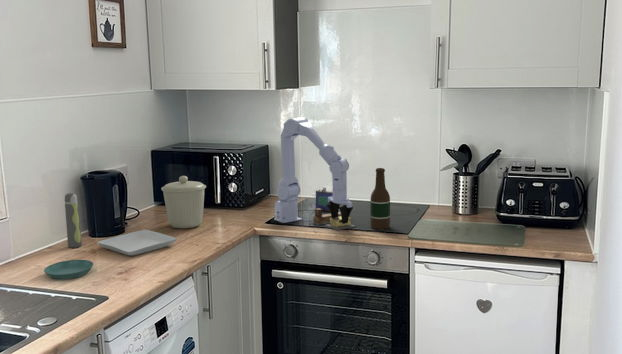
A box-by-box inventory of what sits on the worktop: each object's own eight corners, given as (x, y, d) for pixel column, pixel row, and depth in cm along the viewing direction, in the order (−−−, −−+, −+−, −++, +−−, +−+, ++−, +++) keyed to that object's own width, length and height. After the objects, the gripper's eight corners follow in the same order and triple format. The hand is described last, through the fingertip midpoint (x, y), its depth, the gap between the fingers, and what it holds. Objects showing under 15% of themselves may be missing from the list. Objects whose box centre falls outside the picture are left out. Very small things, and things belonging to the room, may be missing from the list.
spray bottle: (85, 245, 226) (80, 192, 223) (74, 248, 222) (70, 195, 219) (75, 244, 229) (70, 192, 225) (65, 247, 224) (60, 194, 221)
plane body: (317, 225, 250) (317, 210, 249) (312, 223, 253) (312, 208, 252) (350, 219, 258) (350, 205, 257) (345, 217, 261) (344, 203, 260)
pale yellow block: (336, 227, 243) (336, 219, 242) (329, 225, 247) (329, 217, 247) (350, 225, 247) (350, 216, 246) (343, 222, 251) (343, 214, 250)
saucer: (49, 269, 200) (48, 261, 199) (96, 265, 203) (95, 257, 203) (40, 284, 186) (39, 276, 185) (91, 279, 189) (90, 271, 189)
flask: (335, 210, 275) (334, 187, 273) (332, 212, 273) (331, 188, 271) (317, 208, 280) (316, 186, 278) (314, 210, 277) (313, 187, 275)
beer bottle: (389, 225, 247) (389, 166, 243) (390, 229, 240) (390, 169, 236) (370, 224, 248) (370, 166, 244) (370, 229, 241) (370, 170, 237)
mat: (337, 230, 241) (337, 229, 241) (324, 225, 248) (324, 224, 248) (355, 226, 246) (355, 225, 245) (342, 222, 253) (342, 221, 253)
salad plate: (129, 260, 208) (128, 251, 207) (96, 249, 222) (95, 240, 221) (179, 246, 224) (178, 237, 223) (145, 237, 238) (145, 228, 237)
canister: (212, 228, 248) (209, 177, 244) (167, 233, 241) (164, 181, 238) (203, 218, 265) (200, 171, 261) (160, 223, 258) (157, 174, 254)
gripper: (358, 190, 240) (358, 223, 243) (337, 185, 252) (337, 216, 255) (343, 192, 237) (344, 226, 239) (323, 187, 249) (323, 219, 251)
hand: (340, 221), depth 247 cm, fingers open, 6 cm apart
